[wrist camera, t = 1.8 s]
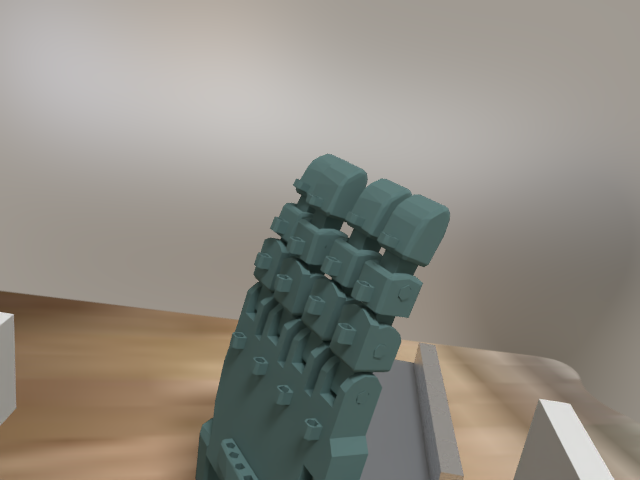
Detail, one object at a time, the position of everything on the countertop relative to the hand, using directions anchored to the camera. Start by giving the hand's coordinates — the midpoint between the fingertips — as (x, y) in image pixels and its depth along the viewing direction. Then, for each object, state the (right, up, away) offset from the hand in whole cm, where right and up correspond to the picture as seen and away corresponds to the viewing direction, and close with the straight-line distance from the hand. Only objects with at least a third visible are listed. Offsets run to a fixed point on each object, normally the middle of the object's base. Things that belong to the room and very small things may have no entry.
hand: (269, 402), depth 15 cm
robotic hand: (-2, -16, +15) cm, 23 cm away
